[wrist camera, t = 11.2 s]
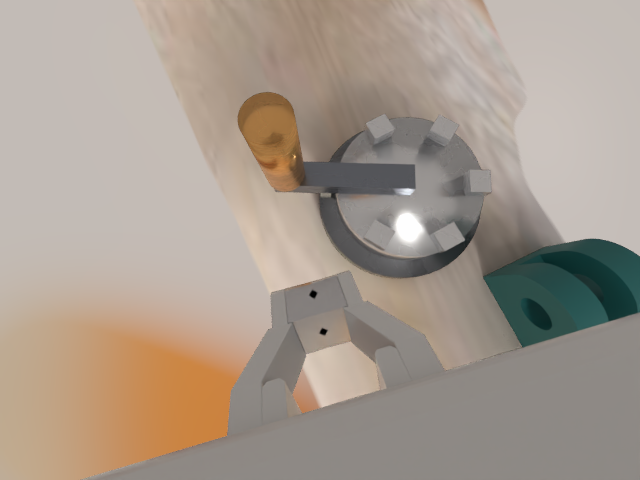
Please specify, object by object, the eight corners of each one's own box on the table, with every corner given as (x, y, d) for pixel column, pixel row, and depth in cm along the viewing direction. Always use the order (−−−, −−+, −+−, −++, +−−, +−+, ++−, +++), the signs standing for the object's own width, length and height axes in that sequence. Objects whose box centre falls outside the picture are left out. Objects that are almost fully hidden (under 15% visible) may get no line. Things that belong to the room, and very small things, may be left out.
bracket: (481, 277, 27) (544, 272, 19) (542, 247, 27) (627, 230, 20) (590, 469, 24) (717, 555, 16) (657, 433, 24) (811, 500, 17)
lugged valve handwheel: (462, 137, 27) (564, 23, 15) (469, 262, 25) (593, 239, 13) (280, 133, 27) (247, 20, 16) (272, 255, 25) (227, 227, 14)
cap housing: (494, 250, 27) (509, 247, 25) (347, 298, 27) (349, 299, 25) (436, 117, 30) (445, 103, 28) (301, 159, 29) (299, 148, 27)
